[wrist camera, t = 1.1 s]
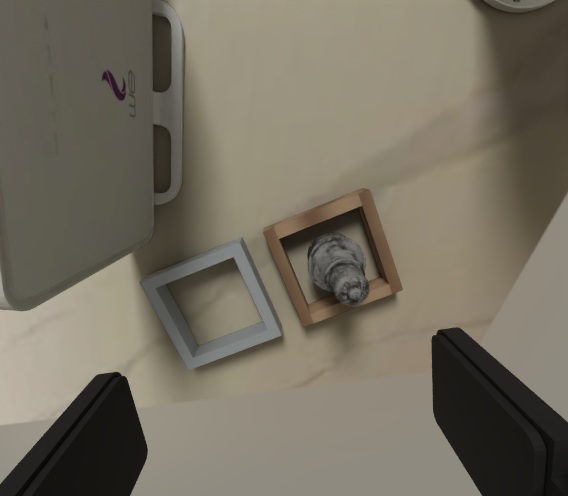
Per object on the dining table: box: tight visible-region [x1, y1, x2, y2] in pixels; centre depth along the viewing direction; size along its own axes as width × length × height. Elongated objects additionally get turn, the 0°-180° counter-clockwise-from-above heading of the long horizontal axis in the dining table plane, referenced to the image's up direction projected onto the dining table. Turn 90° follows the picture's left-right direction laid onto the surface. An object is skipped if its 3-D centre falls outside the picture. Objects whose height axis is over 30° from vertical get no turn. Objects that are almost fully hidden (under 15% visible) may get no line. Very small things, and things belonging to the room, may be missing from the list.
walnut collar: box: [263, 188, 403, 327], centre depth 34 cm, size 11×11×2 cm
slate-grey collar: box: [140, 237, 282, 370], centre depth 35 cm, size 11×11×2 cm
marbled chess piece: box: [308, 232, 370, 306], centre depth 29 cm, size 6×6×12 cm
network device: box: [0, 0, 184, 311], centre depth 21 cm, size 26×9×20 cm, turn 175°
